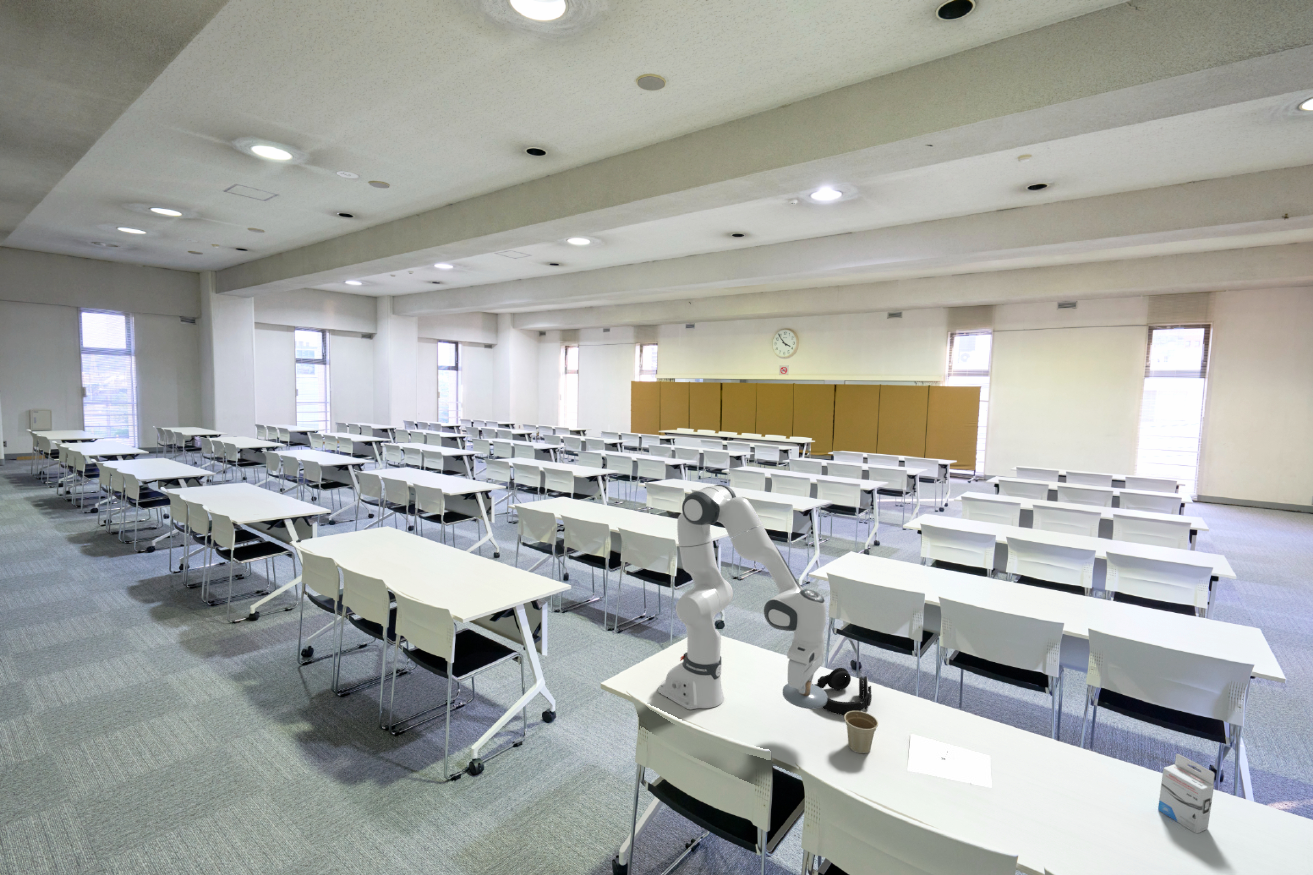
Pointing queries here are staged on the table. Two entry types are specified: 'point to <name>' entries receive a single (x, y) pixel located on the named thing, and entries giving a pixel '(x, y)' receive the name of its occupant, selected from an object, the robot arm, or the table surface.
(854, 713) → the flower pot
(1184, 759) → the ink box
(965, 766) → the paper sheet
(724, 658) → the table surface
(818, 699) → the lid
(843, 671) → the headphones
